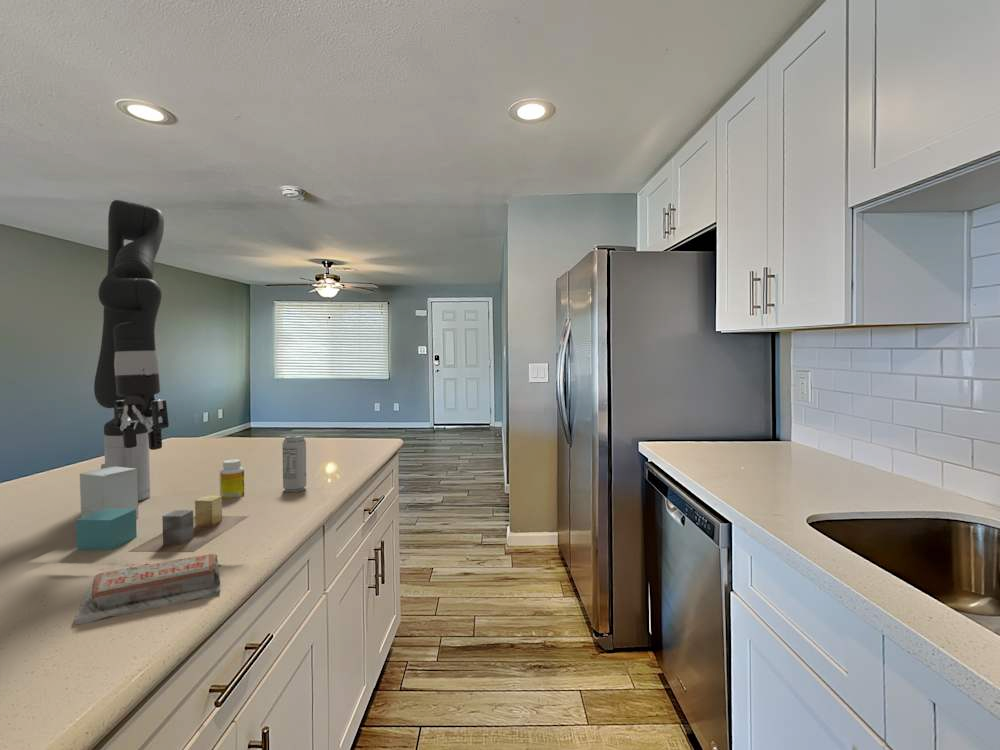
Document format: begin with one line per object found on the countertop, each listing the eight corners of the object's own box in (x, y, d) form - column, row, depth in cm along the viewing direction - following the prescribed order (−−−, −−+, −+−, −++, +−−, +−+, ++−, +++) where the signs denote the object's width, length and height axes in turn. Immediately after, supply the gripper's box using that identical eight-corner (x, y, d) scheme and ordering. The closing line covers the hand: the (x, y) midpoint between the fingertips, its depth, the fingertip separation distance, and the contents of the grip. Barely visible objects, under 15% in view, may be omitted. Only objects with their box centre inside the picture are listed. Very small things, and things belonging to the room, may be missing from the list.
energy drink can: (310, 488, 139) (310, 435, 138) (291, 493, 134) (291, 438, 133) (297, 485, 142) (297, 433, 142) (278, 490, 137) (277, 436, 137)
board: (128, 559, 91) (127, 521, 91) (195, 522, 111) (195, 491, 111) (193, 559, 91) (192, 522, 91) (248, 522, 111) (248, 491, 111)
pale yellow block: (195, 526, 104) (194, 500, 104) (205, 520, 108) (205, 495, 108) (212, 526, 104) (212, 500, 104) (222, 520, 108) (221, 495, 108)
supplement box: (140, 524, 110) (138, 468, 109) (103, 536, 102) (102, 475, 102) (116, 520, 112) (115, 465, 111) (79, 531, 105) (78, 472, 104)
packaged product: (218, 546, 87) (220, 567, 78) (219, 573, 87) (220, 597, 78) (86, 567, 77) (71, 595, 69) (87, 598, 78) (72, 628, 69)
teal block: (77, 557, 92) (76, 519, 92) (104, 543, 98) (103, 509, 98) (111, 557, 92) (110, 520, 92) (136, 544, 98) (135, 509, 98)
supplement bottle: (246, 500, 128) (246, 461, 127) (222, 504, 124) (221, 464, 124) (241, 495, 132) (241, 457, 132) (218, 499, 129) (217, 460, 128)
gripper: (97, 374, 104) (103, 450, 105) (139, 372, 99) (145, 453, 100) (135, 372, 111) (140, 444, 112) (176, 371, 106) (182, 446, 106)
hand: (143, 448), depth 106 cm, fingers open, 8 cm apart
